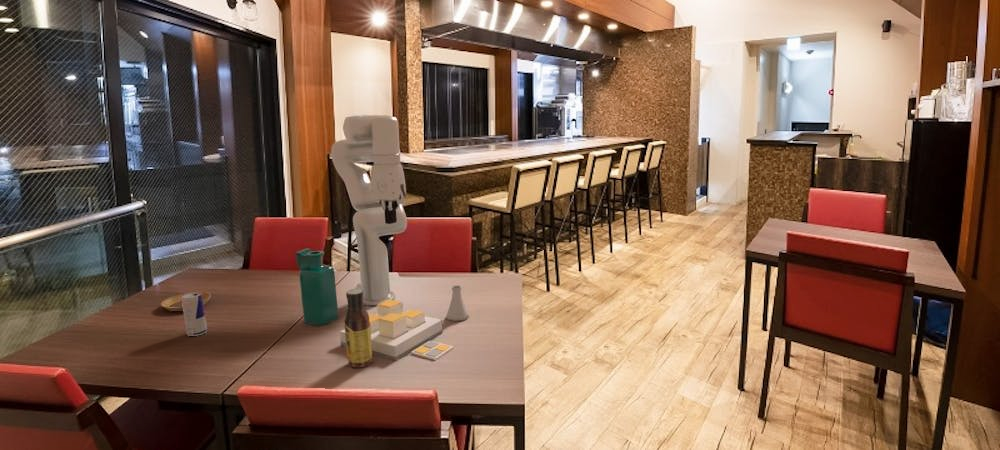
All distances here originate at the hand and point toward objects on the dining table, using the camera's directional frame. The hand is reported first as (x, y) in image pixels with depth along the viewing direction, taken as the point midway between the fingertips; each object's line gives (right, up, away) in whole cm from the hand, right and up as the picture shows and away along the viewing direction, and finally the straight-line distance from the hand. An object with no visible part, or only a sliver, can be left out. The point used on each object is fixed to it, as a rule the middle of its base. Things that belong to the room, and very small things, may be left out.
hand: (391, 222), depth 161 cm
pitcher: (-24, -30, +10) cm, 40 cm away
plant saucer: (-74, -28, +25) cm, 83 cm away
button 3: (+3, -31, -11) cm, 33 cm away
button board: (+2, -33, -5) cm, 33 cm away
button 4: (+7, -31, -4) cm, 32 cm away
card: (+14, -35, -14) cm, 40 cm away
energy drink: (-58, -33, +1) cm, 66 cm away
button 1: (-4, -31, -7) cm, 32 cm away
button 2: (0, -28, -1) cm, 28 cm away
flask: (+19, -30, +10) cm, 36 cm away
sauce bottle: (-4, -37, -20) cm, 42 cm away
